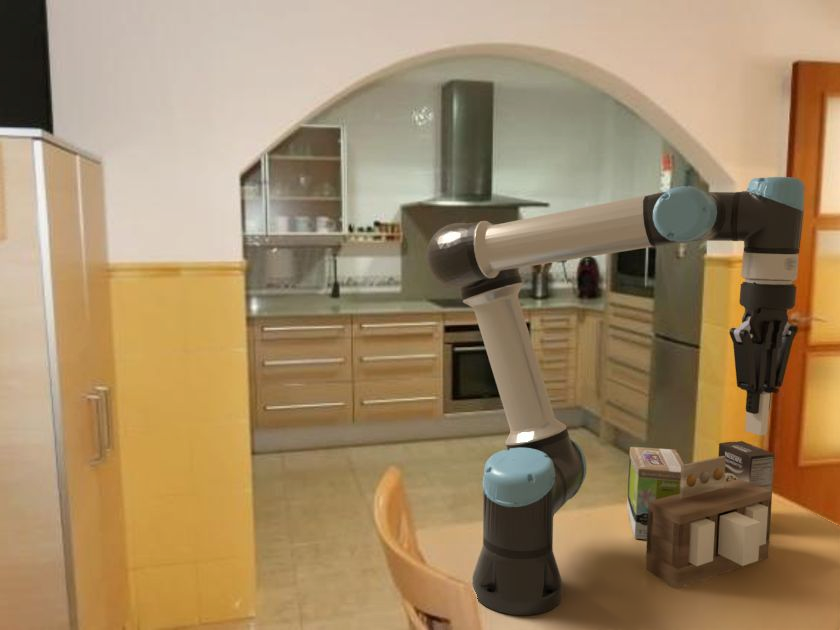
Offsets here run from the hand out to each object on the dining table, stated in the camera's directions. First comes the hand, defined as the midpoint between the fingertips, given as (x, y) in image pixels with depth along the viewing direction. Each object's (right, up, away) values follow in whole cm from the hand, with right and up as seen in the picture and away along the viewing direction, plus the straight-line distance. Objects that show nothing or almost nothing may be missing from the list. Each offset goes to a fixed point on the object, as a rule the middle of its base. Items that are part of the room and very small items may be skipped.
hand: (755, 432), depth 105 cm
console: (+1, -27, +19) cm, 33 cm away
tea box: (-4, -26, +35) cm, 44 cm away
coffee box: (+16, -26, +37) cm, 47 cm away
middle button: (+3, -24, +13) cm, 28 cm away
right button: (+8, -23, +19) cm, 31 cm away
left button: (-4, -24, +13) cm, 28 cm away
